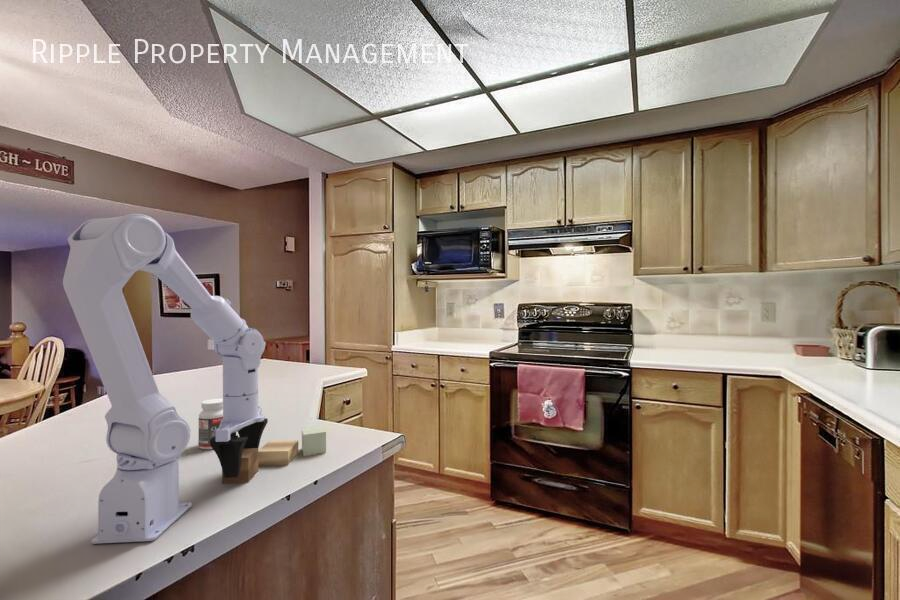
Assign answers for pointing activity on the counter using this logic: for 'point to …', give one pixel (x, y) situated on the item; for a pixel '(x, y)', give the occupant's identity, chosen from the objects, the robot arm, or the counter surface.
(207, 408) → the pill bottle
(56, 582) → the counter surface
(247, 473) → the walnut cube
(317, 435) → the sage block
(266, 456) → the oak block
